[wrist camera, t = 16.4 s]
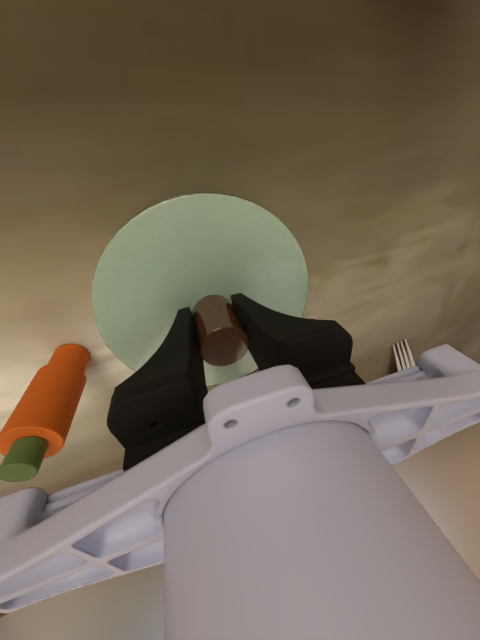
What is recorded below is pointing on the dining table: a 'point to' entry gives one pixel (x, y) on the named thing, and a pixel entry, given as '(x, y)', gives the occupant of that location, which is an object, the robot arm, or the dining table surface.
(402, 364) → the fork
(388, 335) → the dining table surface
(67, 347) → the carrot
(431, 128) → the dining table surface
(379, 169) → the dining table surface
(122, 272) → the lid
